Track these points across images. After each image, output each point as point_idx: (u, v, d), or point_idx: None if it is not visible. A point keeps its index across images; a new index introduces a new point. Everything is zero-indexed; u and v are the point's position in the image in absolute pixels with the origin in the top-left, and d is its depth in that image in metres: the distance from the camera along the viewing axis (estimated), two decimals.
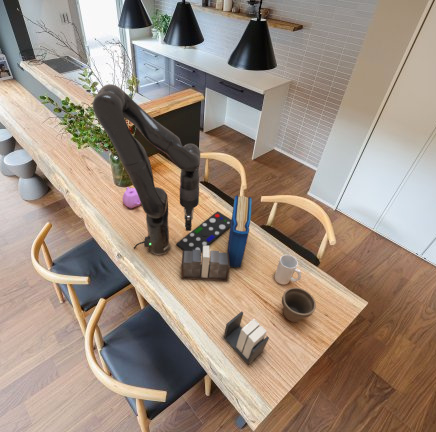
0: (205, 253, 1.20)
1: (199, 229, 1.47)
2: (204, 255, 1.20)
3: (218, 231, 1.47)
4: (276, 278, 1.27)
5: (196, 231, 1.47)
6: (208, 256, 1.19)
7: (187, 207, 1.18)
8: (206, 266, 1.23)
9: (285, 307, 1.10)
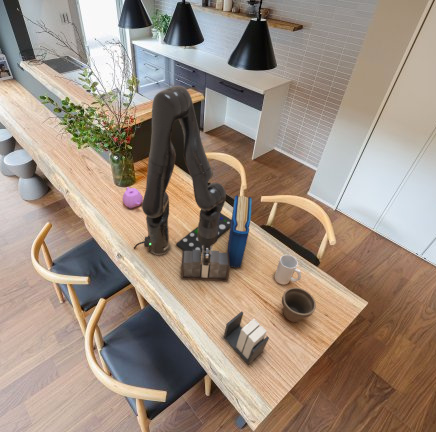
0: None
1: None
2: None
3: (218, 231, 1.47)
4: (276, 278, 1.27)
5: (196, 231, 1.47)
6: None
7: (206, 244, 1.13)
8: (206, 266, 1.23)
9: (285, 307, 1.10)
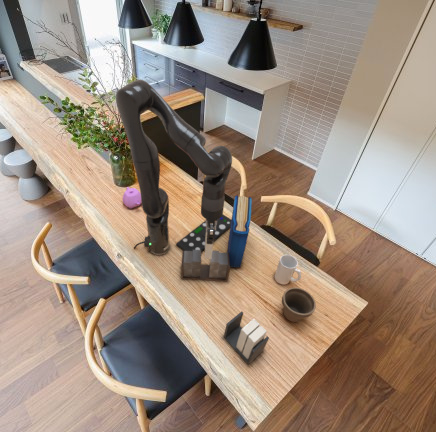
0: None
1: (199, 229, 1.47)
2: None
3: (218, 231, 1.47)
4: (276, 278, 1.27)
5: (196, 231, 1.47)
6: None
7: (210, 219, 1.01)
8: (210, 245, 1.12)
9: (285, 307, 1.10)
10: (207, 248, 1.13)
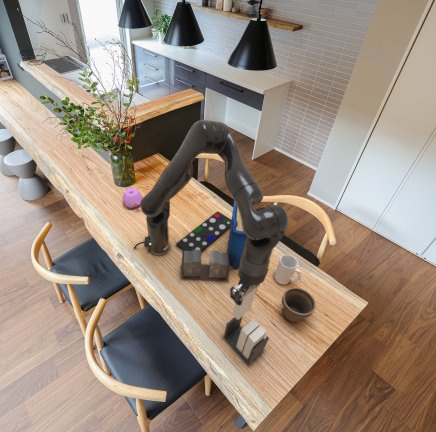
0: (244, 290, 0.91)
1: (199, 229, 1.47)
2: None
3: (218, 231, 1.47)
4: (276, 278, 1.27)
5: (196, 231, 1.47)
6: None
7: (241, 278, 0.84)
8: (239, 306, 0.94)
9: (285, 307, 1.10)
10: (235, 306, 0.96)
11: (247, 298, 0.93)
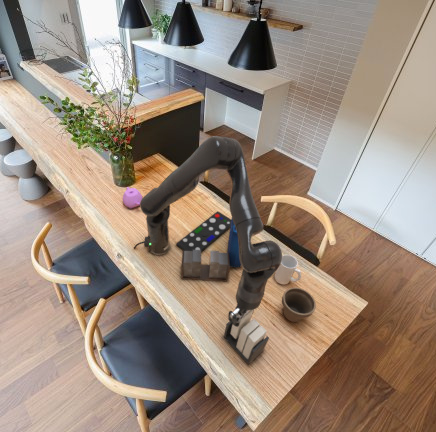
0: (241, 313, 0.97)
1: (199, 229, 1.47)
2: None
3: (218, 231, 1.47)
4: (276, 278, 1.27)
5: (196, 231, 1.47)
6: None
7: (238, 303, 0.91)
8: (236, 327, 1.01)
9: (285, 307, 1.10)
10: (233, 326, 1.02)
11: (244, 320, 0.99)
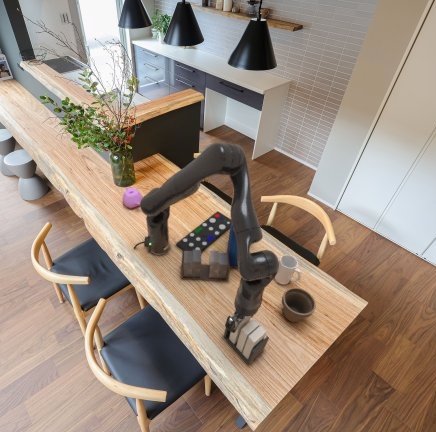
0: (239, 319, 1.01)
1: (199, 229, 1.47)
2: None
3: (218, 231, 1.47)
4: (276, 278, 1.27)
5: (196, 231, 1.47)
6: None
7: (236, 309, 0.93)
8: (235, 333, 1.04)
9: (285, 307, 1.10)
10: None
11: (243, 326, 1.02)
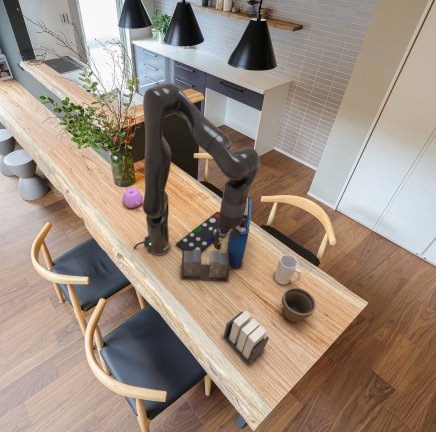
0: (239, 319, 1.01)
1: (199, 229, 1.47)
2: (236, 320, 1.00)
3: None
4: (276, 278, 1.27)
5: (196, 231, 1.47)
6: (239, 324, 0.99)
7: (221, 221, 0.95)
8: (235, 333, 1.04)
9: (285, 307, 1.10)
10: (232, 332, 1.05)
11: (243, 326, 1.02)
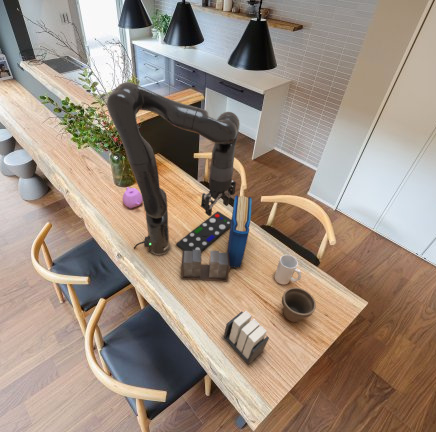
0: (239, 319, 1.01)
1: (199, 229, 1.47)
2: (236, 320, 1.00)
3: (218, 231, 1.47)
4: (276, 278, 1.27)
5: (196, 231, 1.47)
6: (239, 324, 0.99)
7: (210, 186, 1.02)
8: (235, 333, 1.04)
9: (285, 307, 1.10)
10: (232, 332, 1.05)
11: (243, 326, 1.02)
